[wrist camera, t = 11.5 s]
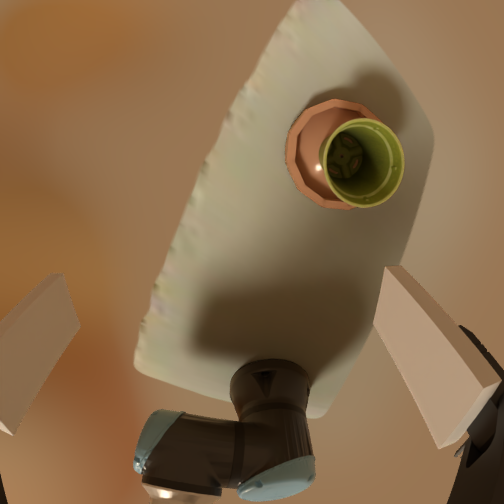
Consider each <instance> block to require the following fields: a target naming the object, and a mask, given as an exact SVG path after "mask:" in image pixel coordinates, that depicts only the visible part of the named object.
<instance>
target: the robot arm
mask: <svg viewBox="0 0 504 504" xmlns="http://www.w3.org/2000/svg"><path fill="white" fill-rule="evenodd" d="M373 325H374V327H375V328H376V330H377V332H378V334H379V335H380V337H381V338H382V341H383V342H384V344H385V346H386V348H387V349H388V351H389V353H390V355H391V356H392V358H393V360H394V362H395V364H396V366H397V368H398V369H399V371H400V373H401V375H402V377H403V379H404V381H405V383H406V384H407V386H408V388H409V390H410V392H411V394H412V396H413V398H414V400H415V402H416V404H417V406H418V408H419V410H420V412H421V414H422V416H423V418H424V420H425V422H426V424H427V426H428V428H429V430H430V433H431V434H432V437H433V439H434V441H435V443H436V445H437V448H438V449H440V448H443V447H445V446H447V445H450V444H452V443H455V442H457V441H458V440H459V439H460V437H461V436H462V435H463V433H464V432H465V431H466V430H467V431H468V434H469V435H470V437H469V438H468V439H467V440H466V441H465V443H464V444H463V445H462V446H461V447H460V448H459V450H457V451H456V453H455V455H454V457H457V456H458V455H459V454H460V453H461V452H462V451H463V450H464V451H463V455H462V457H461V462H460V466H459V469H458V473H457V476H456V479H455V482H454V485H453V488H452V491H451V494H450V497H449V499H448V502H447V504H504V370H503V369H502V368H501V366H500V365H499V364H498V363H497V361H496V360H495V359H494V358H493V356H492V355H491V354H490V353H489V352H487V349H486V348H485V347H484V346H483V345H482V344H481V342H480V341H479V340H478V339H477V338H476V336H475V335H474V334H473V333H472V332H470V331H469V330H467V329H466V328H465V327H463V326H461V325H459V326H458V325H457V324H456V323H455V322H454V321H453V320H452V319H451V317H450V316H449V315H448V314H447V313H446V312H445V311H444V310H443V308H442V307H441V306H440V305H439V304H438V303H437V302H436V301H435V300H434V299H433V298H432V297H431V296H430V295H429V293H428V292H426V291H425V289H424V288H423V287H422V286H421V285H420V284H419V283H418V282H417V281H416V280H415V279H414V278H413V277H412V276H411V275H410V274H409V273H408V272H407V271H406V270H405V269H404V268H403V267H402V266H385V269H384V275H383V280H382V285H381V290H380V295H379V299H378V304H377V308H376V313H375V317H374V321H373ZM80 327H81V326H80V323H79V320H78V318H77V315H76V312H75V309H74V306H73V303H72V301H71V297H70V294H69V291H68V287H67V284H66V281H65V277H64V274H63V273H50V274H49V275H48V276H47V277H46V278H45V279H44V280H43V281H41V282H40V283H39V284H38V285H37V286H36V287H35V288H34V289H33V290H32V291H31V292H30V293H29V294H28V295H27V296H26V297H24V298H23V299H22V300H21V301H20V302H19V303H18V304H17V305H16V306H15V307H14V308H13V309H12V310H11V311H10V312H9V313H8V314H7V315H6V316H5V318H3V320H2V321H1V322H0V429H1V430H3V431H4V432H6V433H8V434H10V435H12V436H14V435H15V433H16V431H17V429H18V427H19V425H20V423H21V422H22V419H23V418H24V416H25V414H26V412H27V411H28V409H29V407H30V405H31V403H32V402H33V400H34V398H35V396H36V395H37V393H38V392H39V390H40V388H41V387H42V385H43V383H44V382H45V380H46V378H47V377H48V375H49V374H50V372H51V370H52V369H53V367H54V365H55V364H56V362H57V361H58V359H59V358H60V356H61V355H62V353H63V352H64V350H65V348H66V347H67V346H68V344H69V343H70V341H71V340H72V338H73V337H74V335H75V334H76V332H77V331H78V330H79V328H80ZM309 394H310V384H309V379H308V376H307V373H306V372H305V371H304V370H303V369H302V368H301V367H300V366H298V365H297V364H295V363H292V362H289V361H285V360H278V359H269V360H261V361H257V362H253V363H250V364H248V365H246V366H244V367H242V368H241V369H240V370H238V371H237V372H236V373H235V374H234V376H233V377H232V379H231V382H230V398H231V401H232V403H233V404H234V407H235V410H236V413H237V415H238V418H239V421H231V420H223V419H216V418H210V417H204V416H198V415H192V414H187V413H186V412H183V411H181V412H176V411H170V410H164V409H161V410H157V411H155V412H153V413H152V414H151V415H150V417H149V418H148V420H147V421H146V423H145V425H144V427H143V429H142V432H141V434H140V437H139V440H138V443H137V446H136V450H135V458H134V461H133V467H134V470H135V471H136V472H138V473H139V474H143V477H142V486H143V487H144V488H145V489H146V491H147V492H148V493H149V495H150V502H149V504H213V503H215V502H216V501H218V500H219V499H221V493H222V488H233V489H237V493H238V495H239V497H240V498H242V499H244V500H249V501H269V500H276V499H281V498H285V497H288V496H292V495H294V494H297V493H299V492H301V491H303V490H305V489H306V488H308V487H309V486H310V485H311V484H312V483H313V482H314V480H315V475H316V473H315V457H314V455H313V450H312V444H311V439H310V434H309V429H308V424H307V419H306V408H307V403H308V397H309ZM0 504H8V502H7V499H6V496H5V491H4V487H3V483H2V479H1V474H0Z"/></svg>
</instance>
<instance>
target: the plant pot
mask: <svg viewBox="0 0 504 504" xmlns="http://www.w3.org/2000/svg"><path fill="white" fill-rule="evenodd" d="M345 137H346V138H348V139H351V140H352V142H353V143H350V142H349V141H347V140H345V139H344V138H345ZM340 154H343V155H344V157H343V158H341V157H340ZM357 159H358V164H357V166H356V167H355V168H354V169H353V166H354V164H355V162H356V160H357ZM319 161H320V165H321V167H322V169H323V170H324V175H325V178H326V181H327V183H328V185H329V187H330V188H331V190H332V191H333V192H334V194H335V195H336V196H337V197H338V198H340V199H341V200H342V201H344V202H346V203H347V204H350V205H352V206H356V207H362V208H367V207H373V206H377V205H379V204H381V203H383V202H385V201H386V200H388V199H389V198H390V197H391V196H392V195H393V194H394V193H395V191H396V190H397V188H398V186H399V185H400V183H401V180H402V177H403V174H404V165H405V163H404V162H405V161H404V153H403V149H402V146H401V144H400V141H399V139H398V138H397V136H396V135H395V134H394V132H393V131H392V130H391V129H390V128H389V127H387V126H386V125H384V124H383V123H381V122H379V121H377V120H373V119H369V118H358V119H353V120H350V121H347V122H345V123H343V124H342V125H340V126H339V127H338V128H337V129H336V130H335V131H334V132H333V133H332V134H331V135H330V136H328V137H327V138H326V139H325V140H324V141H323V142H322V144H321V146H320V149H319ZM329 168H331V169H332V170H334V171H336V172H338V174H335V173H332V172H330V171H329Z"/></svg>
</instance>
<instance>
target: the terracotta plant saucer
mask: <svg viewBox="0 0 504 504" xmlns="http://www.w3.org/2000/svg"><path fill="white" fill-rule="evenodd" d="M358 118H369V119H373V120H377V121H379V122H381V123H383V122H382V121H381V120H379V119H378V118H377V117H376V116H375V115H374V114H373V113H372V112H371V111H369V110H368V109H367V108H366V107H365V106H364V105H362V104H359V103H354V102H350V101H345V100H340V99H331V100H328V101H326V102H323V103H320V104H318V105H315V106H313V107H310V108H308V109H305V110H304V111H303V112H302V114H301V115H300V116H299V117H298V118H297V119H296V120H295V122H294V123H293V125H292V126H291V128H290V130H289V131H288V133H287V139H286V145H285V163H286V165H287V168H288V171H289V173H290V175H291V177H292V179H293V181H294V183H295V185H296V187H297V189H298V190H299V191H300V192H302V193H303V194H305V195H306V196H307V197H309V198H310V199H311V200H313V201H314V202H316V203H317V204H318V205H320V206H321V207H324V208H334V209H343V210H351V209H353V208H355V207H356V206H352V205H350V204H347V203H346V202H344V201H342V200H341V199H340V198H338V197H337V196H336V195H335V194H334V192H333V191H332V190H331V188H330V187H329V185H328V183H327V181H326V178H325V175H324V170H323V169H322V167H321V165H320V161H319V149H320V146H321V144H322V142H323V141H324V140H325V139H326V138H327V137H328V136H330V135H331V134H332V133H333V132H334V131H335V130H336V129H337V128H338V127H339V126H340V125H342V124H343V123H345V122H347V121H350V120H353V119H358ZM344 139H345V140H347V141H349V142H350V143H353V142H352V140H351V139H348V138H346V137H345V138H344ZM340 157H341V158H343V157H344V155H343V154H340ZM357 164H358V159H357V160H356V162H355V164H354V166H353V169H354V168H355V167H356V166H357ZM329 171H330V172H332V173H335V174H338V172H336V171H334V170H332V169H331V168H329Z"/></svg>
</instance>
